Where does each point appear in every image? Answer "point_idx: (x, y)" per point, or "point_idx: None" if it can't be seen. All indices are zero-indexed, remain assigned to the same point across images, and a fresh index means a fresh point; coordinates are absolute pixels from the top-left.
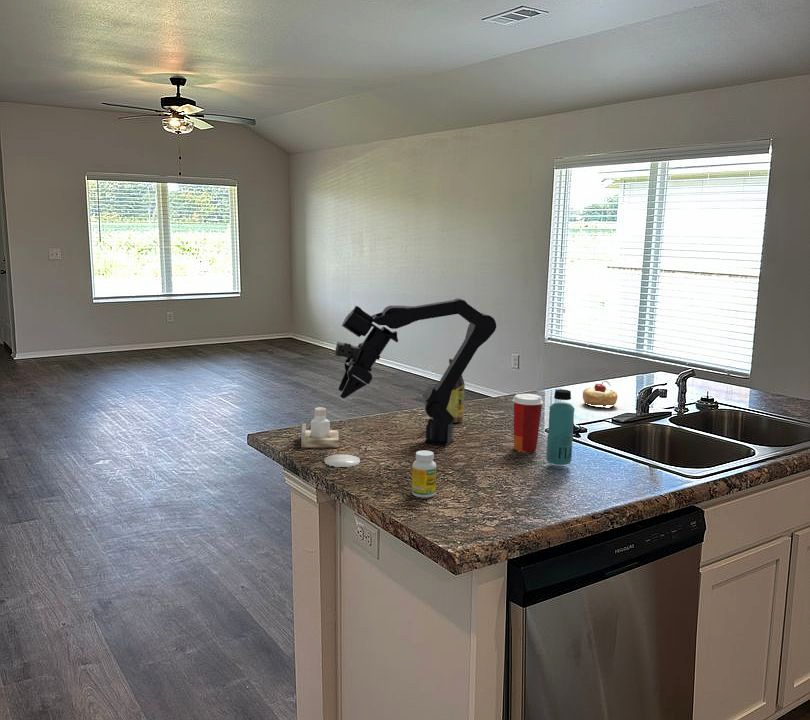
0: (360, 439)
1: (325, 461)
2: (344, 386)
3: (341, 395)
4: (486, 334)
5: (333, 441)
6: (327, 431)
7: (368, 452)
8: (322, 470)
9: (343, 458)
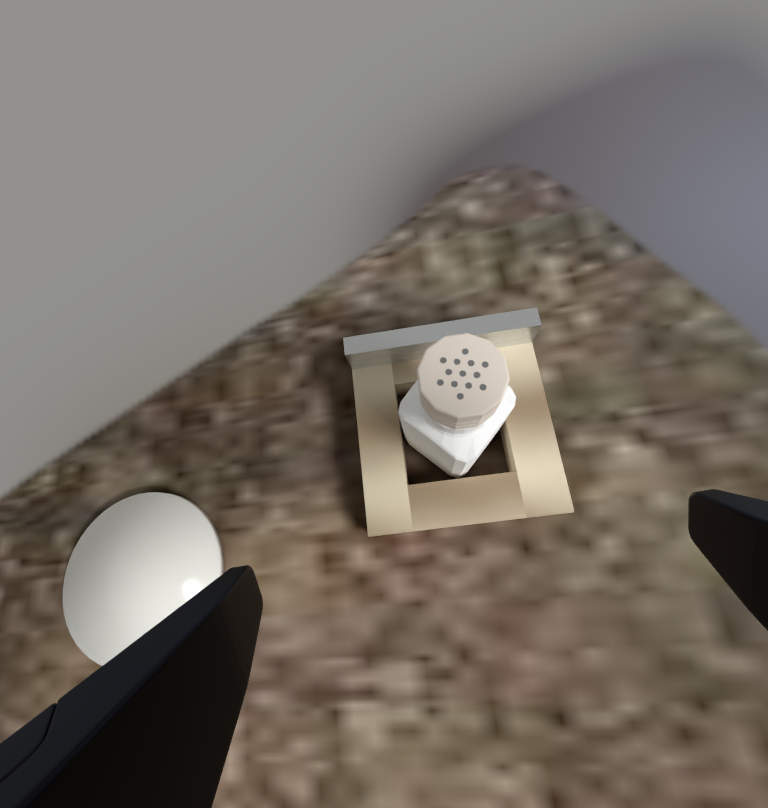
0: (545, 653)
1: (122, 500)
2: (763, 592)
3: (217, 582)
4: None
5: (366, 507)
6: (442, 461)
7: (297, 712)
8: (53, 499)
9: (157, 580)
